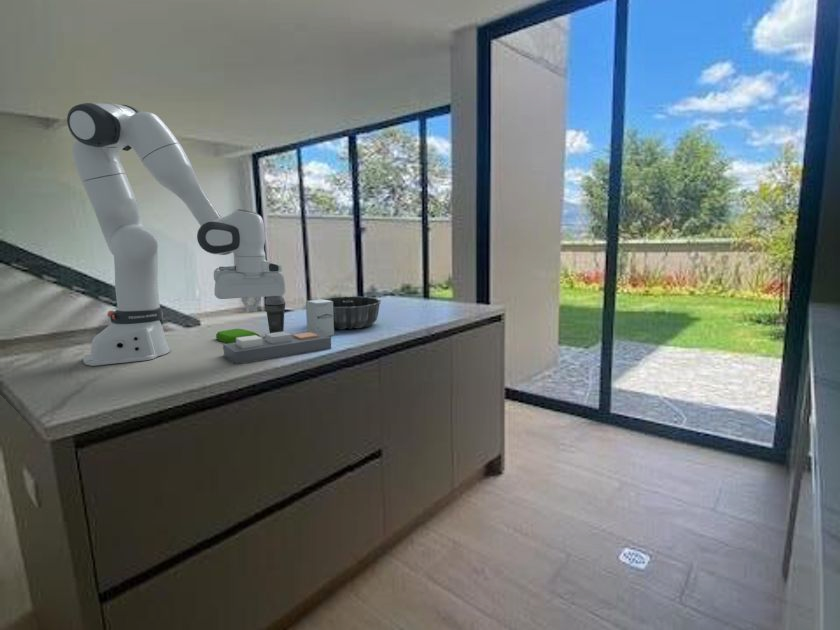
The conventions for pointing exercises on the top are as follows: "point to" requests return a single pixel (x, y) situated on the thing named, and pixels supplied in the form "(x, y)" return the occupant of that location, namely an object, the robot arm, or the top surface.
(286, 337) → the grey key
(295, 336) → the terracotta key
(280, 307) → the beverage cup
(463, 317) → the top surface
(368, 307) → the bundt pan
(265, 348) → the keypad
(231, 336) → the green rounded slab
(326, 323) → the supplement box
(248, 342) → the ivory key
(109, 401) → the top surface
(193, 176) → the robot arm
